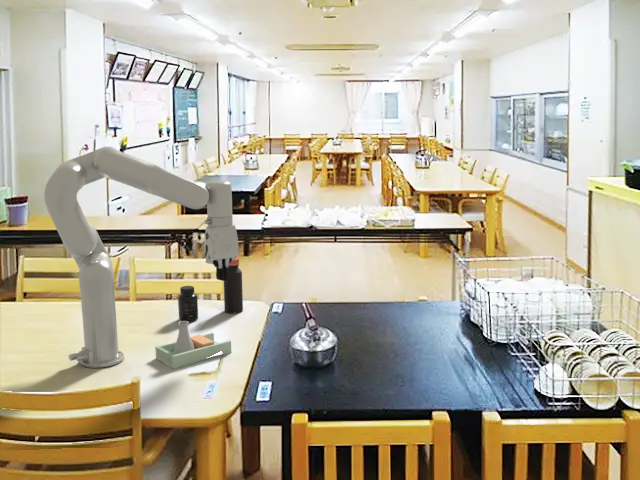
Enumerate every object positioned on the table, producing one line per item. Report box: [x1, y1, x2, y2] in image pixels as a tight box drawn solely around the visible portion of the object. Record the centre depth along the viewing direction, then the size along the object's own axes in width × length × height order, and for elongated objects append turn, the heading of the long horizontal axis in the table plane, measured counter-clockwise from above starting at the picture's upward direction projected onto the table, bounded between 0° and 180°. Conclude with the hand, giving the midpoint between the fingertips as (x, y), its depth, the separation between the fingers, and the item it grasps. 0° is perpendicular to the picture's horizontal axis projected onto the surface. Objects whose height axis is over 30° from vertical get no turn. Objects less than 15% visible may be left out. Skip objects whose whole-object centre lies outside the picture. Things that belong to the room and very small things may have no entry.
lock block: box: [190, 334, 215, 349], centre depth 211 cm, size 4×8×3 cm, turn 41°
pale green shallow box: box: [155, 332, 232, 369], centre depth 210 cm, size 20×11×4 cm, turn 131°
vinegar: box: [223, 257, 244, 314], centre depth 253 cm, size 7×7×20 cm
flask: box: [173, 320, 195, 355], centre depth 207 cm, size 7×7×10 cm
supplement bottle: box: [177, 285, 199, 323], centre depth 244 cm, size 7×7×12 cm
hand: (222, 279), depth 213 cm, fingers closed
